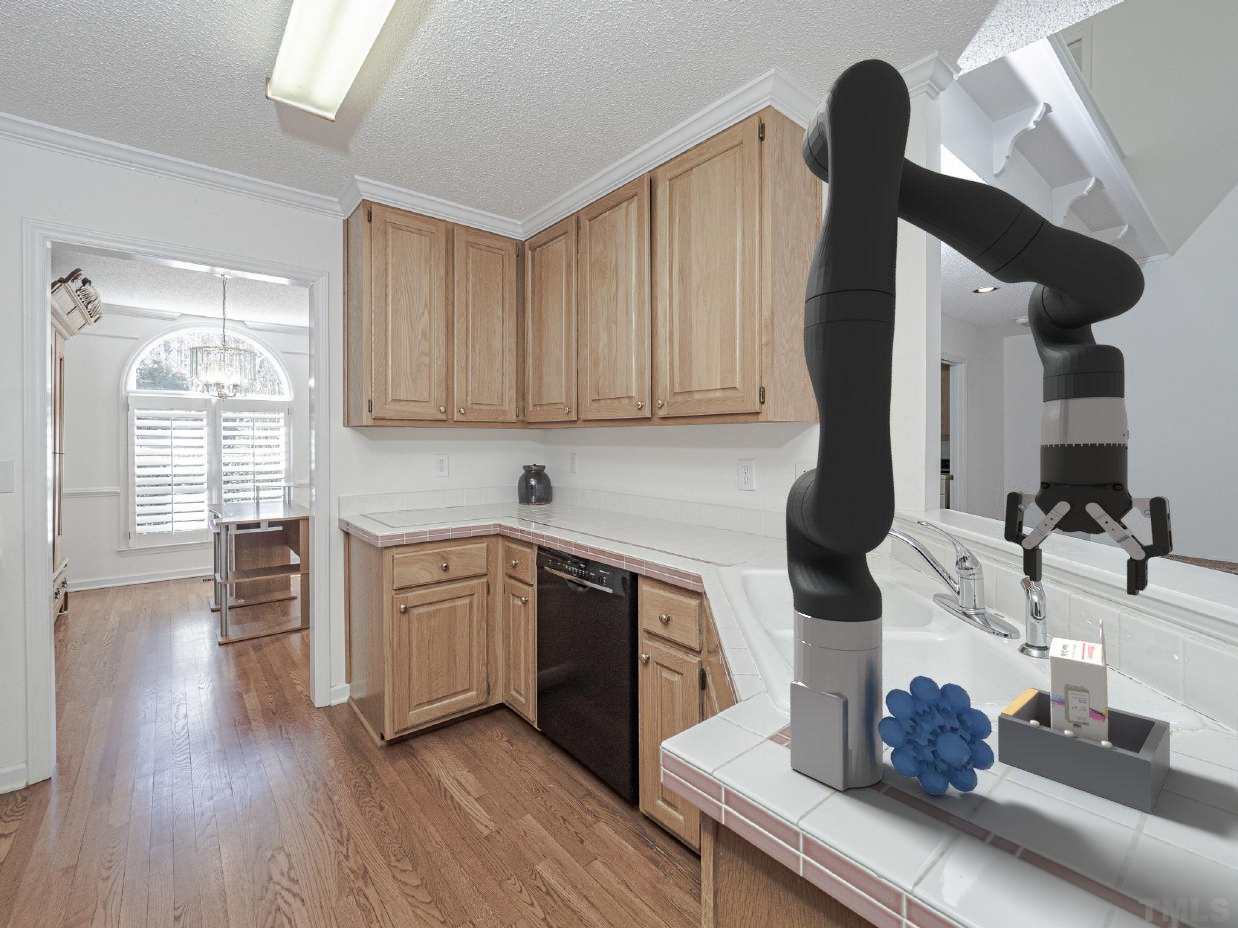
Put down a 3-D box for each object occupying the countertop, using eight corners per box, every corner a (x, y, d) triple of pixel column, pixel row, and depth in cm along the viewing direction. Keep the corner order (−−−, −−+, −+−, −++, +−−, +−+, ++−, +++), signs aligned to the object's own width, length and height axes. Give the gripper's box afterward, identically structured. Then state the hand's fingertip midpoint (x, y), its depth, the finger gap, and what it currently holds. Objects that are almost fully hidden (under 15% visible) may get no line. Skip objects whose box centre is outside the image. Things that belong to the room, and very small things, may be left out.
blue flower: (900, 821, 53) (900, 693, 53) (868, 780, 60) (867, 667, 60) (1023, 820, 53) (1023, 692, 53) (977, 779, 60) (977, 666, 60)
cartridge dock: (1150, 813, 54) (1150, 757, 54) (998, 760, 64) (998, 712, 64) (1169, 767, 62) (1169, 718, 62) (1032, 726, 72) (1031, 684, 72)
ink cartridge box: (1052, 732, 68) (1051, 610, 68) (1106, 745, 65) (1106, 617, 65) (1048, 762, 61) (1047, 627, 61) (1108, 778, 58) (1108, 635, 58)
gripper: (996, 442, 66) (996, 581, 66) (1165, 438, 55) (1165, 605, 55) (1017, 444, 71) (1017, 573, 71) (1176, 440, 60) (1176, 593, 60)
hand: (1082, 587), depth 63 cm, fingers open, 8 cm apart
